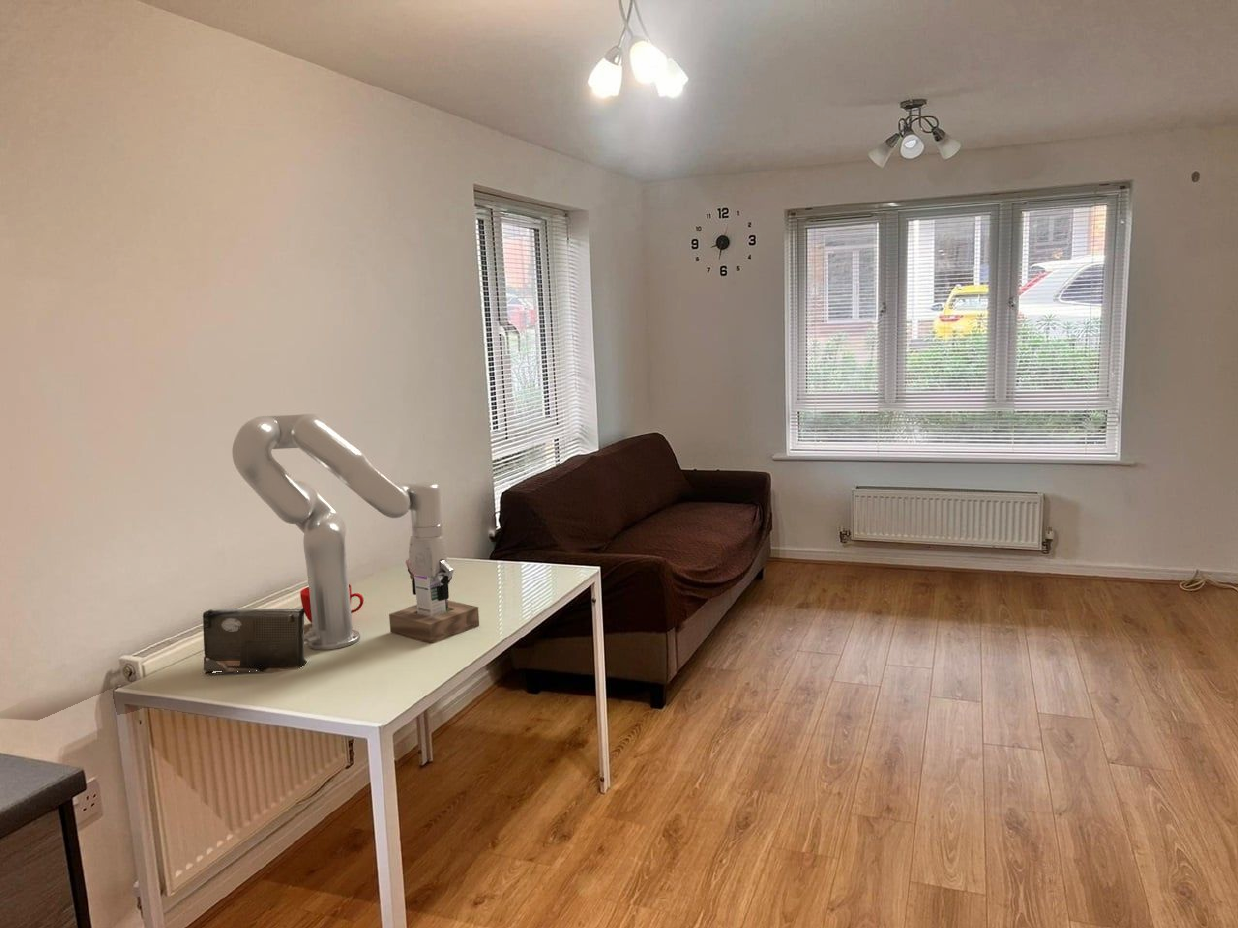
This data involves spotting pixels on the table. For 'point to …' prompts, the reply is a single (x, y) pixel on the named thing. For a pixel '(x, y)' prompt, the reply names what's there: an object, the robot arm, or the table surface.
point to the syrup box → (428, 597)
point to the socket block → (434, 622)
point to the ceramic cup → (306, 605)
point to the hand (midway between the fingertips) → (430, 596)
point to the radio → (253, 640)
